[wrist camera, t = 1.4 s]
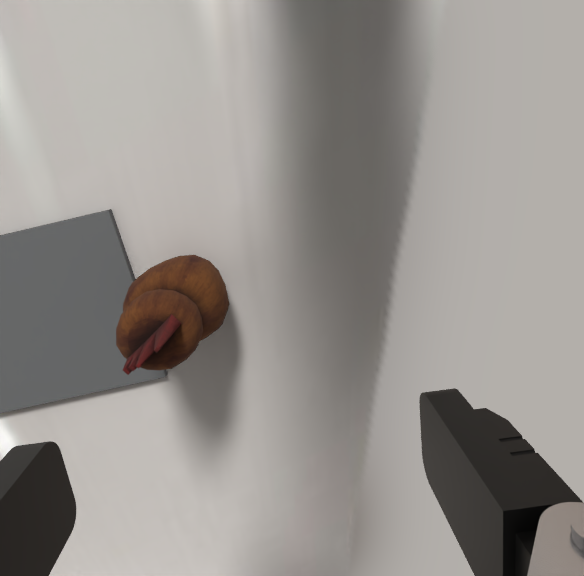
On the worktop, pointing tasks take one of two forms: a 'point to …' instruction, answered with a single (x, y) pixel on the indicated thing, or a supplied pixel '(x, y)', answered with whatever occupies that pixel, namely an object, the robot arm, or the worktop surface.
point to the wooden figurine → (170, 313)
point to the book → (63, 312)
